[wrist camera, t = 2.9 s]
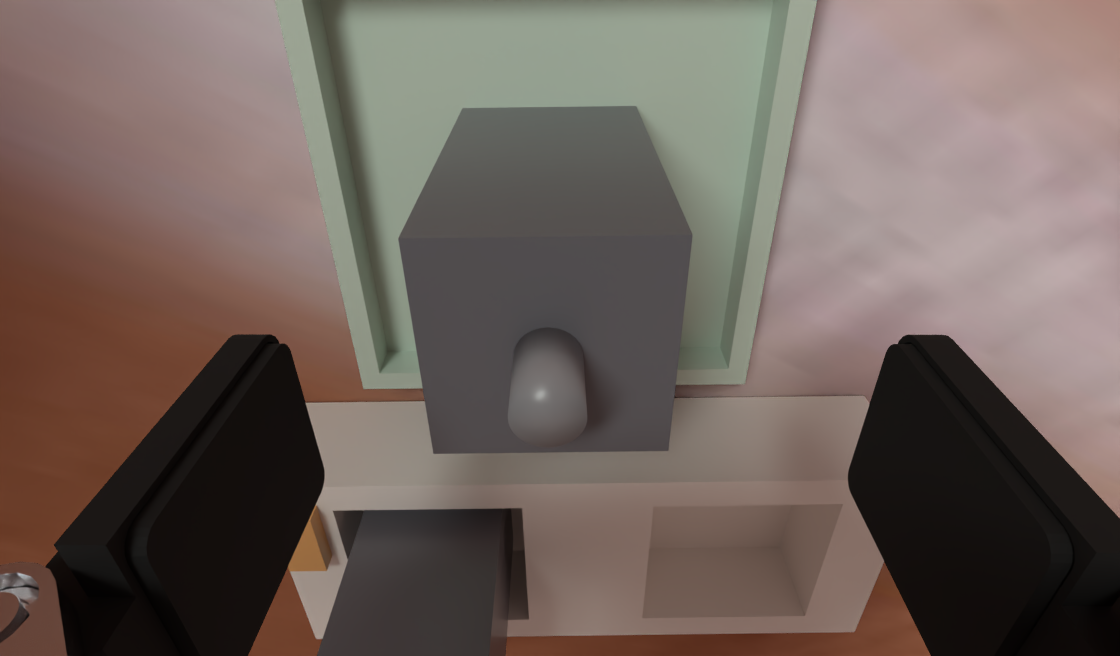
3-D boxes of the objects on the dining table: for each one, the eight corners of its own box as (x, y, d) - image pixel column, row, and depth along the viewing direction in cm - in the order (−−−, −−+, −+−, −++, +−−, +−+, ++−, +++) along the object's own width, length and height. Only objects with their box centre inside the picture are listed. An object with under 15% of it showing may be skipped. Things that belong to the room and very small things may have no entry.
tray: (291, -61, 15) (261, -58, 13) (801, -67, 15) (829, -67, 13) (377, 355, 21) (363, 389, 20) (731, 351, 21) (744, 383, 20)
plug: (462, 107, 16) (372, 289, 8) (635, 105, 16) (715, 285, 8) (476, 263, 19) (418, 520, 11) (627, 261, 19) (682, 517, 11)
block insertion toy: (302, 403, 22) (135, 720, 13) (864, 395, 22) (1068, 708, 13) (346, 548, 27) (241, 861, 18) (816, 542, 27) (947, 852, 18)
